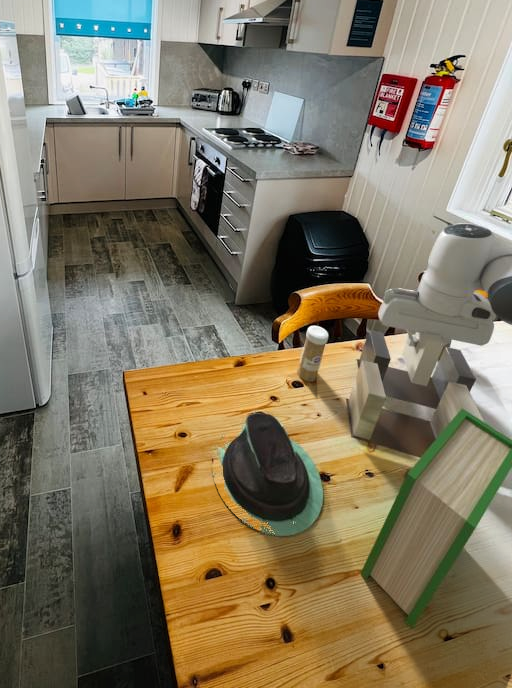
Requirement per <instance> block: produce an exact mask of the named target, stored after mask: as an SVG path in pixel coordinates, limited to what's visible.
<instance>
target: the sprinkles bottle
mask: <svg viewBox="0 0 512 688" xmlns="http://www.w3.org/2000/svg"><path fill="white" fill-rule="evenodd" d="M305 337H306V338H305V340H304V345H303V348H302V351H301V354H300V359H299V365H298V368H297V370H296V372H297V375H298V377H299V378H300V379H302V380H303V381H305V382H309V383H310V382H311V383H312V382H315V381H316V380H317V376H318V373H319V369H320V366H321V364H322V359H323V355H324V351H325V348H326V344H327V343H328V340H329V332H328V331H327V330H326V329H325V328H323V327H321V326H319V325H310V326H309V327H308V328H307V330H306V334H305Z"/></svg>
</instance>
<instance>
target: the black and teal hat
mask: <svg viewBox="0 0 512 688" xmlns="http://www.w3.org/2000/svg"><path fill="white" fill-rule="evenodd" d="M241 427H242V428H243V429H242V428H241V429H242V433H241V432H239V434H240V435H239V436H238V437H236V438H235V439H234V440H233V441H232V442H231V443H230V442H229V443H230V444H229V443H228V445H229V446H228V445H227V444H225V445H226V446H225V447H226V448H227V449H226V451H225V450H224V449H223V450H222V448H221V447H218V446H217V447H218V450H219V451H220V452H219V453H220V455H219V454H218V455H219V456H220V457H221V459H220V458H219V457H218V456H217V454H216V453H215V454H216V457H217V458H219V459H220V460H219V461H220V462H221V465H222V466H223V477H224V480H225V481H224V482H225V486H226V487H225V488H224V490H225V489H227V491H229V493H228V494H230V496H231V498H232V499H231V500H234V502H236V504H239V505H238V506H241V507H242V509H244V510H246V512H247V513H248V514H249V515H251V517H254V518H256V519H258V520H259V521H262V522H263V523H264V522H265V523H267V522H268V524H267V525H269V526H271V527H270V528H271V530H273V531H274V533H275V534H274V533H272V532H273V531H270V532H271V533H270V532H269V530H270V529H268V528H266V527H267V526H266V527H265V529H264V526H261V528H262V530H261V531H263V530H264V531H263V532H261V533H263V534H266V535H270V536H274V535H275V537H285V536H294V535H297V534H300V533H303V532H304V531H305V530H307V529H308V528H310V527H311V526H312V525H313V524H314V522H316V520H317V518H318V517H319V515H320V513H321V510H322V507H323V502H324V489H323V483H322V479H321V475H320V473H319V470H318V468H317V466H316V464H315V462H314V460H313V459H312V458H311V456H310V455H309V454H308V452H307V451H306V450H305V449H304V448H303V447H302V446H301V445H300V444H298V443H297V442H295V441H294V440H293V439H291V438H290V437H289V434H288V432H287V430H286V428H285V426H284V425H283V424H282V422H281V421H280V420H279V419H278V418H276V417H275V416H274V415H272V414H270V413H269V414H268V413H264V412H257V411H254V412H253V413H251V414H249V415H248V416H245V425H241ZM225 434H226V433H224V434H222V436H223V437H224V435H225ZM227 442H228V441H227ZM216 452H217V451H216ZM212 456H214V455H213V454H212ZM222 457H223V458H222ZM214 473H215V474H214V475H216V472H214ZM219 473H221V472H219ZM221 474H222V473H221ZM227 491H226V492H227ZM242 519H243V518H242ZM242 519H241V520H242ZM241 520H240V521H241ZM244 520H245V518H244ZM244 520H243V521H244ZM243 521H241V522H242V523H243V524H245V522H246V520H245V521H244V522H243ZM293 521H294V524H293ZM262 522H261V523H262ZM295 522H296V523H295ZM248 523H249V522H248ZM249 525H250V524H249ZM249 525H247V526H249ZM262 525H263V524H262ZM251 526H252V524H251V525H250V526H249V527H250V528H252V527H251ZM269 526H268V527H269ZM253 527H254V526H253ZM266 529H267V531H266ZM264 532H265V533H264ZM271 534H272V535H271Z"/></svg>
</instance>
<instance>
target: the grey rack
mask: <svg viewBox="0 0 512 688" xmlns="http://www.w3.org/2000/svg"><path fill="white" fill-rule="evenodd" d="M391 359H392V358H391V355H390V352H389V349H388V345H387V342H386V339H385V335H384V332H381V331H378V330H372V329H369V330H368V332H367V336H366V338H365V341H364V344H363V348H362V351H361V354H360V357H359V359H358V358H356V363H357V364H356V365H357V369H358V370H359V367H360V364H361V361H362V360H364V361H368V362H372V363H376V364H378V368H379V372H380V376H381V380H382V384H383V388H384V392H385V395H386V397H389V398H393V399H396V400H402V401H404V402H408V403H413V404H416V405H419V406H423V407H428V408H431V409H435V410H436V409H437V407H438V404H439V402H440V400H441V398H442V396H443V394H444V392H445V389H446V387H447V385H448V383H449V382H453V383H458V384H462V385H466V386H467V388H468V390H469V392H470V393H471V391H472V389H473V387H474V384H475V383H476V381H477V378H476V376H475V375H474V373H473V370H472V369H471V367H470V365H469V363H468V361H467V360H466V358H465V356H464V354H463V352H462V350H461V349H457V348H454V347H453V348H452V347H450V348H449V347H445V349H444V351H443V354H442V356H441V358H440V360H438V362H437V364H436V366H435V368H434V371H433V373H432V375H431V377H430V380H429V382H428V384H427V386H424V385H420V384H416V383H412V382H411V380H410V377H409V374H408V371H407V370H404V369H398V368H395V367H391V366H390V363H391Z"/></svg>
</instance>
